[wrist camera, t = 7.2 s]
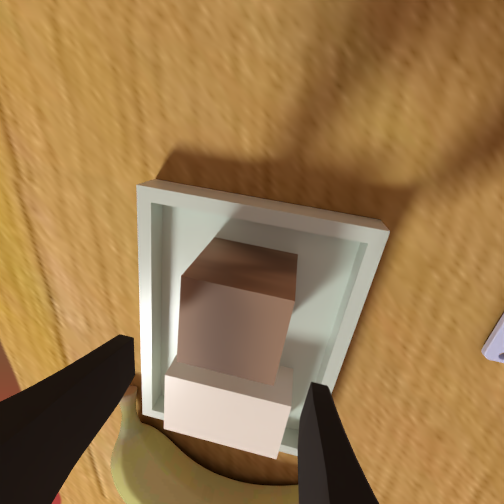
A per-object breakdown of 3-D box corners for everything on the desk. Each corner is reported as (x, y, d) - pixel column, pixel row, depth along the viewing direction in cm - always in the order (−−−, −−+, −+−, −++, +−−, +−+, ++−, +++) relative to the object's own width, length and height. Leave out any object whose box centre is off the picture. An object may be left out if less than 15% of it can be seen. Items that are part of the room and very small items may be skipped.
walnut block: (297, 254, 16) (294, 301, 12) (281, 323, 18) (273, 385, 14) (214, 236, 17) (181, 275, 12) (207, 306, 19) (176, 361, 14)
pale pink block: (293, 368, 20) (291, 406, 17) (279, 418, 22) (276, 459, 19) (183, 342, 21) (164, 374, 18) (180, 393, 23) (163, 428, 20)
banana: (220, 627, 23) (49, 450, 22) (229, 548, 29) (93, 402, 27) (357, 542, 21) (180, 344, 20) (338, 475, 27) (199, 316, 25)
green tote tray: (380, 219, 16) (390, 231, 14) (307, 432, 23) (307, 458, 21) (154, 178, 17) (136, 184, 15) (154, 393, 24) (142, 414, 22)
